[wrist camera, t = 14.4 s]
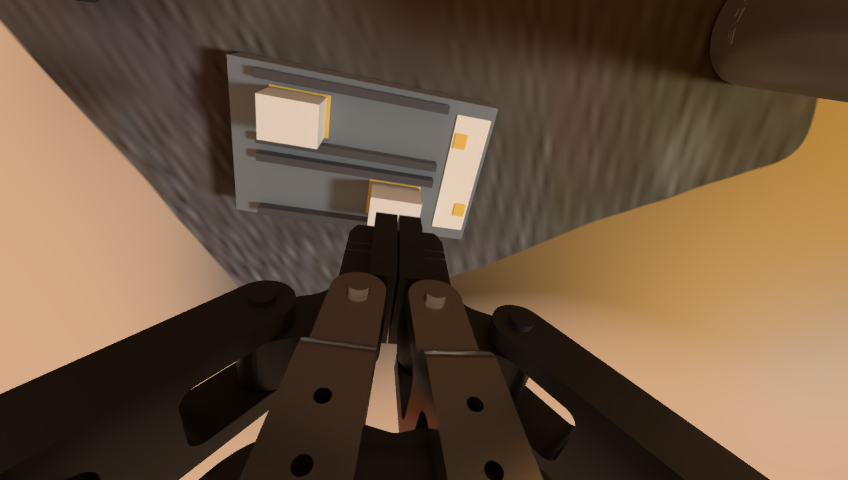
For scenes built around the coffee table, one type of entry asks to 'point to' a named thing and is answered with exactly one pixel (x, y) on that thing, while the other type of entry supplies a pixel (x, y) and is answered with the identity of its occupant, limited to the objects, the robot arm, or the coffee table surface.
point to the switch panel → (357, 147)
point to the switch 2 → (394, 201)
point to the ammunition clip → (88, 0)
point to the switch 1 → (290, 117)
